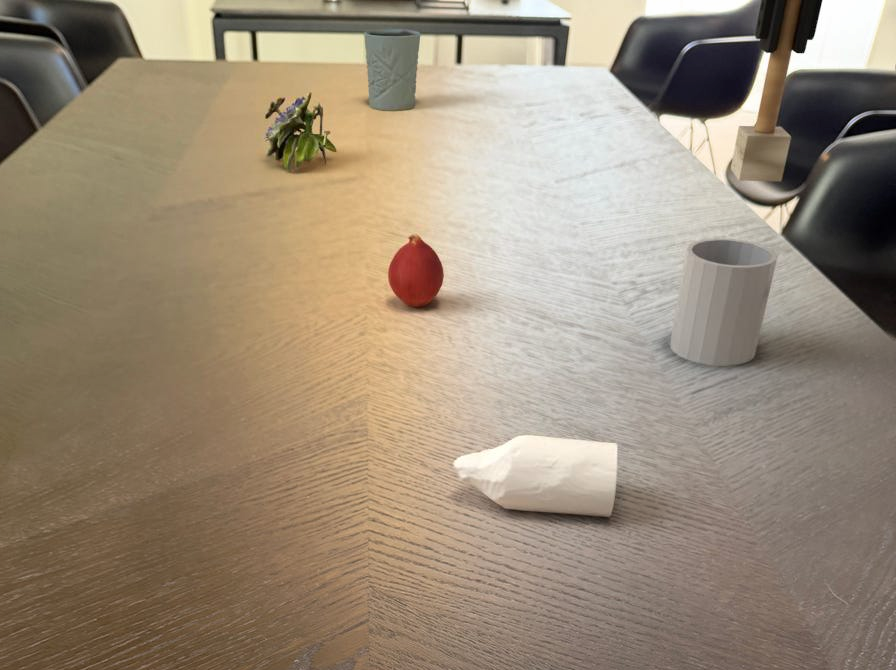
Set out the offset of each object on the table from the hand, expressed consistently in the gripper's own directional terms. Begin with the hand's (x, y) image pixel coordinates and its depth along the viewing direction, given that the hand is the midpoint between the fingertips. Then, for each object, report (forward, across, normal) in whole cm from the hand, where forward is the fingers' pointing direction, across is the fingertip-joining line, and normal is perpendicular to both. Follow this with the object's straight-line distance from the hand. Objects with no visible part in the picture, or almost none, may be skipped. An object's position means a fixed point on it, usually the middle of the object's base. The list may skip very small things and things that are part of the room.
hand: (781, 48), depth 80 cm
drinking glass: (+27, +39, -116) cm, 126 cm away
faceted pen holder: (+27, 0, -3) cm, 27 cm away
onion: (+27, +30, -13) cm, 43 cm away
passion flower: (+27, +50, -73) cm, 93 cm away
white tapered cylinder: (+27, +19, +27) cm, 43 cm away
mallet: (+10, 0, 0) cm, 10 cm away
